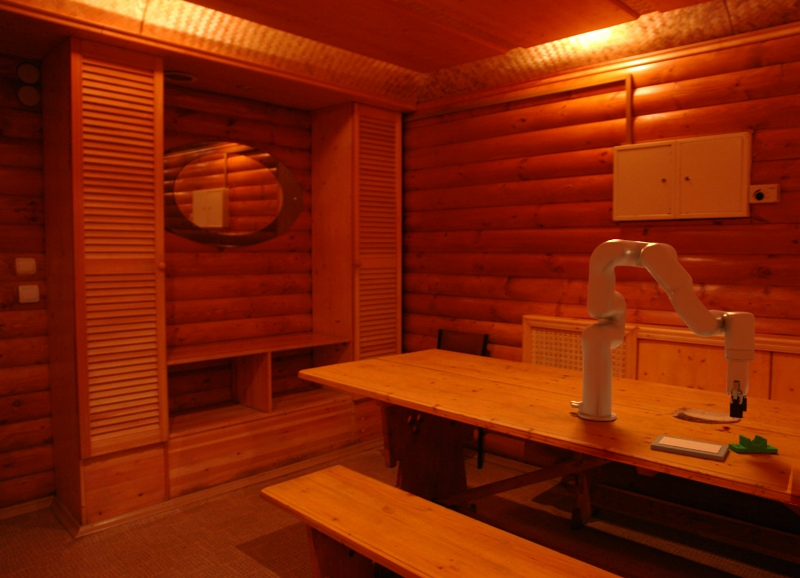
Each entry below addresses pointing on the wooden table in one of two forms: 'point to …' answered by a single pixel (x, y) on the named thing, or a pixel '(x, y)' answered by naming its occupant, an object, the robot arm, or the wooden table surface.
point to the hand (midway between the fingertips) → (738, 414)
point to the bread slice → (703, 416)
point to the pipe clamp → (753, 445)
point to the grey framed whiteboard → (690, 447)
